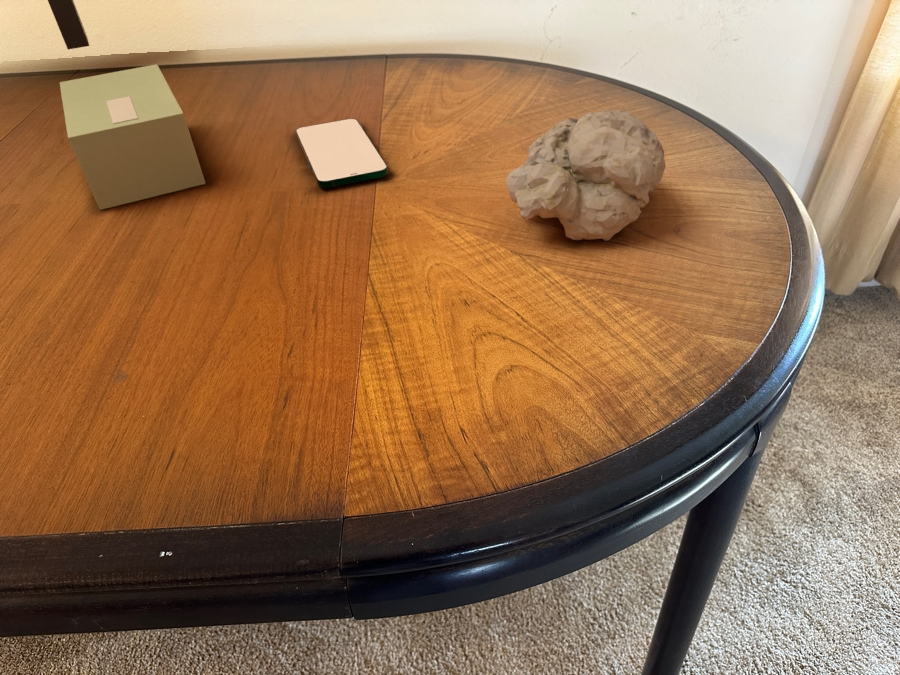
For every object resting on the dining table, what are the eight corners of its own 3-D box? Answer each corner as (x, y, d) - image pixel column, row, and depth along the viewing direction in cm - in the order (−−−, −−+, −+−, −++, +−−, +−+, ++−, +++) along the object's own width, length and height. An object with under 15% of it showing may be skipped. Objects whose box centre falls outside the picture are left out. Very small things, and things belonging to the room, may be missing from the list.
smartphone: (295, 135, 81) (319, 191, 69) (293, 128, 80) (317, 183, 68) (357, 124, 82) (391, 176, 71) (356, 117, 82) (390, 168, 70)
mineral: (470, 187, 64) (496, 117, 55) (601, 131, 70) (644, 59, 61) (540, 288, 61) (580, 231, 52) (671, 220, 67) (727, 159, 58)
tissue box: (87, 147, 81) (58, 81, 75) (178, 127, 84) (156, 63, 79) (100, 210, 68) (67, 136, 63) (205, 183, 72) (183, 112, 66)
